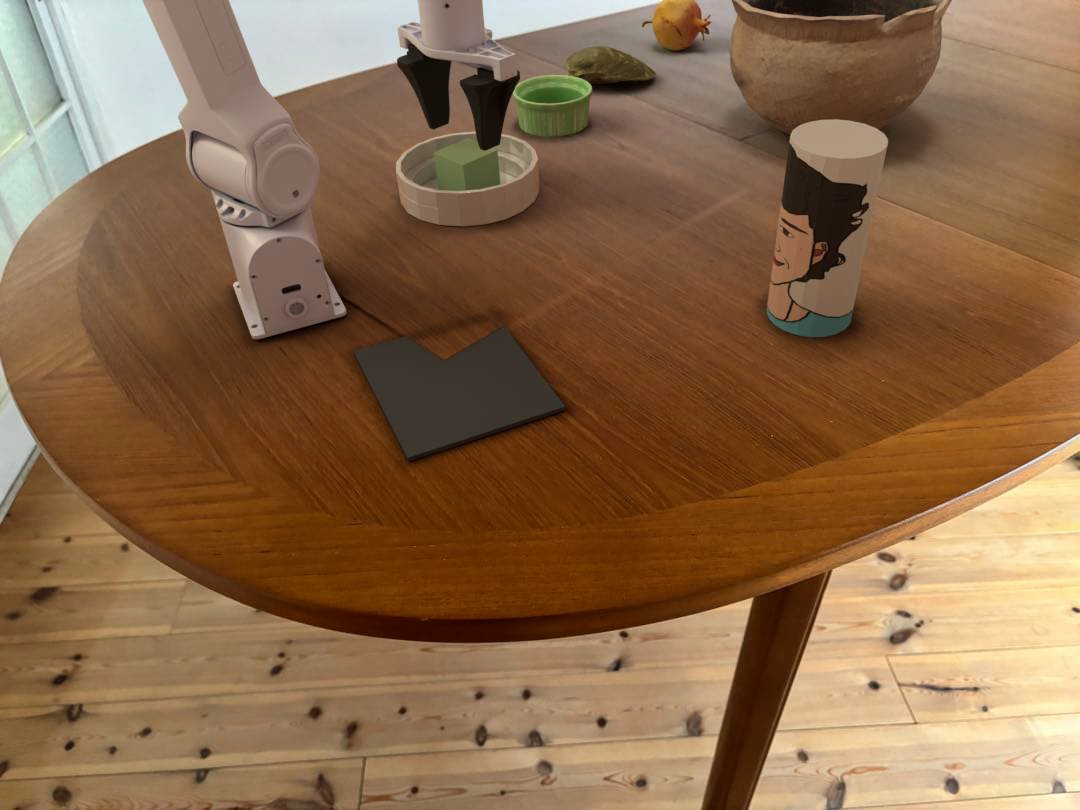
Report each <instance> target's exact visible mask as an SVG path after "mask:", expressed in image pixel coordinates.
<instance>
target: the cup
mask: <svg viewBox="0 0 1080 810" xmlns="http://www.w3.org/2000/svg"><path fill="white" fill-rule="evenodd" d="M888 144H889V138H888V137H887V136H886V134H885V133H884V132H883V131H881V130H880V129H876V128H874V127H872V126H869V125H866V124H863V123H859V122H854V121H847V120H837V119H835V120H818V121H812V122H808V123H805V124H802V125H799V126H798V127H797V128H795V129H794V130H793V131H792V133H791V135H790V136H789V143H788V151H787V158H786V165H785V172H784V180H783V186H782V187H783V188H782V193H781V202H780V209H779V215H778V224H777V230H776V239H775V245H774V252H773V253H774V254H773V259H772V268H771V275H770V280H769V281H770V282H769V289H768V296H767V304H766V314H767V318H768V319H769V320H770V322H772V324H773V325H774V326H776V327H777V328H779V329H781V330H782V331H783V332H786V333H790V334H792V335H794V336H800V337H807V338H826V337H830V336H834V335H837V334H840V333H841V332H843V331H845V330H847V328H848V327H849V326H850V324H851V322H852V317H853V312H854V308H855V302H856V297H857V292H858V289H859V284H860V278H861V274H862V269H863V264H864V260H865V254H866V250H867V244H868V240H869V236H870V235H869V234H870V230H871V226H872V221H873V216H874V211H875V207H876V202H877V199H878V198H877V197H878V194H879V193H878V192H879V187H880V183H881V178H882V173H883V170H884V164H885V159H886V154H887V150H888V149H887V148H888Z"/></svg>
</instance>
